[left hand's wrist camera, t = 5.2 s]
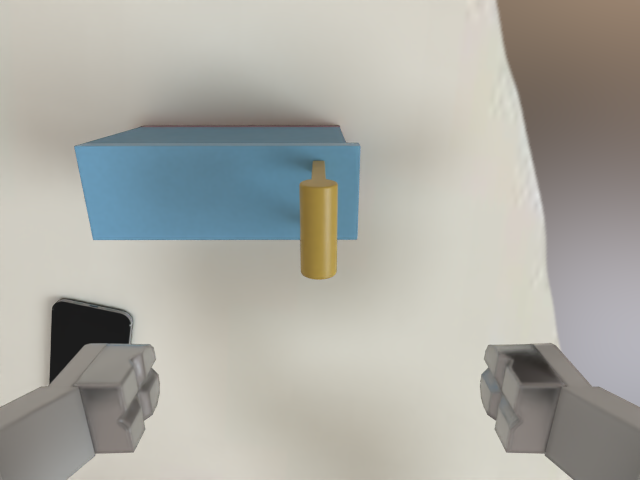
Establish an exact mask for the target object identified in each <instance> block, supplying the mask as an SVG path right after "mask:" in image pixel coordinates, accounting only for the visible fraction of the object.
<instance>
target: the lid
mask: <svg viewBox="0 0 640 480" xmlns="http://www.w3.org/2000/svg"><path fill="white" fill-rule="evenodd" d="M74 148H75V152H76V157H77V162H78V167H79V172H80V177H81V182H82V187H83V192H84V197H85V202H86V207H87V211H88V216H89V221H90V226H91V231H92V236H93V240H300V250H301V273H302V275H303V276H305V277H307V278H310V279H327V278H330V277H332V276H334V275H335V274H336V272H337V240H357V233H358V203H359V172H360V145H359V143H83V144H80V145H76V146H74Z"/></svg>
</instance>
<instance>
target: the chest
mask: <svg viewBox="0 0 640 480" xmlns="http://www.w3.org/2000/svg"><path fill="white" fill-rule="evenodd" d="M87 143H346V142H345V139H344V137H343V134H342V132H341V129H340V126H141V127H139V128H136V129H132V130H129V131H125V132H122V133H118V134H115V135H111V136H108V137H104V138H101V139H97V140H94V141H90V142H87Z"/></svg>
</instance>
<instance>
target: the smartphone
mask: <svg viewBox="0 0 640 480" xmlns="http://www.w3.org/2000/svg"><path fill="white" fill-rule="evenodd" d="M132 326H133V320H132V317H131V316H130V315H129V314H128V313H127V312H125V311H121V310H116V309H111V308H107V307H102V306H97V305H92V304H87V303H83V302H78V301H73V300H68V299H61V300H59V301H58V302H56V303H55V304H54V305H53V307H52V326H51V356H50V384H51V382H52V381H53V380H54V379H55V378H56V377H57V376H58V375H59V373H60V372H61V371H62V370H63V369H64V368H65V367H66V365H67V364H68V363H69V362H70V361H71V360H72V359H73V358H74V356H75V355H76V354H77V353H78V352H79V351H80V350H81V349H82V347H83V346H84V345H87V344H95V343H107V344H131V335H132Z"/></svg>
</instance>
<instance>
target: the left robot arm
mask: <svg viewBox="0 0 640 480" xmlns="http://www.w3.org/2000/svg"><path fill="white" fill-rule="evenodd" d="M155 360H156V357H155V352H154V348H153V347H152V346H151V345H150V344H107V343H95V344H87V345H84V346H83V347H82V349H81V350H80V351H79V352H78V353H77V354H76V355H75V356H74V358H73V359H72V360H71V361H70V362H69V363H68V364H67V365H66V367H65V368H64V369H63V370H62V371H61V372H60V373H59V375H58V376H57V377H56V378H55V379H54V380H53V381H52V382H51V384H50V385H49V386H48V387H39V388H37V389H35V390H33V391H32V392H30V393H28V394H26V395H24V396H22V397H20V398H18V399H16V400H14V401H12V402H10V403H8V404H6V405H4V406H2V407H0V480H67V479H68V478H69V477H70V476H72V475H73V474H74V473H75V472H76V471H77V470H79V469H80V468H81V467H82V466H83V465H85V464H86V463H87V462H88V461H89V460H91V459H92V458H93V457H94V456H95V454H96V453H130V452H134V451H135V449H136V447H137V445H138V443H139V441H140V439H141V437H142V435H143V433H144V431H145V424H144V420H146V419H147V418H148V417H150V416H151V415H153V413H154V410H155V408H156V406H157V403H158V398H159V394H160V381H159V375H158V374H157V373H156V372H155V371H154V370H153V369H152V368H151V367H152V365H153V364H154V362H155ZM484 360H485V362H486V364H487V365H488V367H489V368H488V369H487V370H486V371H485V372H484V373H483V374H482V375H481V383H480V391H481V399H482V403H483V406H484V408H485V411H486V413H487V415H489V416H490V417H492V418H493V419H494V420H496V424H495V431H496V433H497V435H498V437H499V439H500V441H501V443H502V445H503V447H504V449H505V451H506V452H509V453H544V454H545V456H546V457H547V458H548V459H550V460H551V461H552V462H553V463H554V464H556V465H557V466H558V467H559V468H560V469H562V470H563V471H564V472H565V473H566V474H567V475H569V476H570V477H571V478H572V479H573V480H640V407H638V406H636V405H634V404H632V403H630V402H628V401H626V400H624V399H622V398H620V397H618V396H616V395H614V394H612V393H610V392H608V391H606V390H604V389H603V388H600V387H592V386H591V385H590V384H589V382H588V381H587V380H586V379H585V378H584V377H583V376H582V375H581V373H580V372H579V371H578V370H577V369H576V368H575V367H574V366H573V364H572V363H571V362H570V361H569V360H568V359H567V358H566V357H565V355H564V354H563V353H562V352H561V351H560V350H559V349H558V347H557V346H556V345H553V344H551V343H541V344H517V345H488V347H487V349H486V351H485V356H484Z"/></svg>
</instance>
